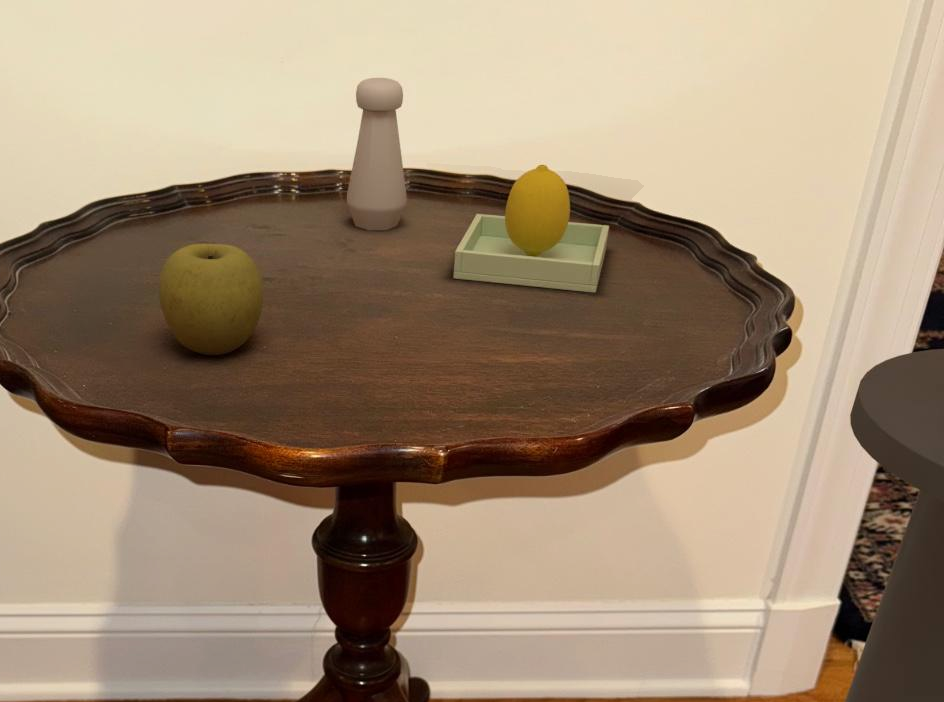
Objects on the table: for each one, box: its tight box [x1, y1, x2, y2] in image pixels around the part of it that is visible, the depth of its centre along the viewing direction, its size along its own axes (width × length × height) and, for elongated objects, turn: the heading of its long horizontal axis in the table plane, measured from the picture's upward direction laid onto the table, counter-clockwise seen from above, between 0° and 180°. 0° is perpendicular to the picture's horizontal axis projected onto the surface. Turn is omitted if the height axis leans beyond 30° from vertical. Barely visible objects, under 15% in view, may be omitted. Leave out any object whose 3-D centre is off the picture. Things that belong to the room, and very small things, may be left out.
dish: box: [452, 213, 610, 294], centre depth 100 cm, size 12×11×2 cm
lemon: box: [504, 164, 571, 257], centre depth 98 cm, size 6×6×8 cm
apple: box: [158, 243, 264, 356], centre depth 83 cm, size 8×8×7 cm
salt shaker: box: [346, 77, 408, 231], centre depth 106 cm, size 6×6×13 cm
